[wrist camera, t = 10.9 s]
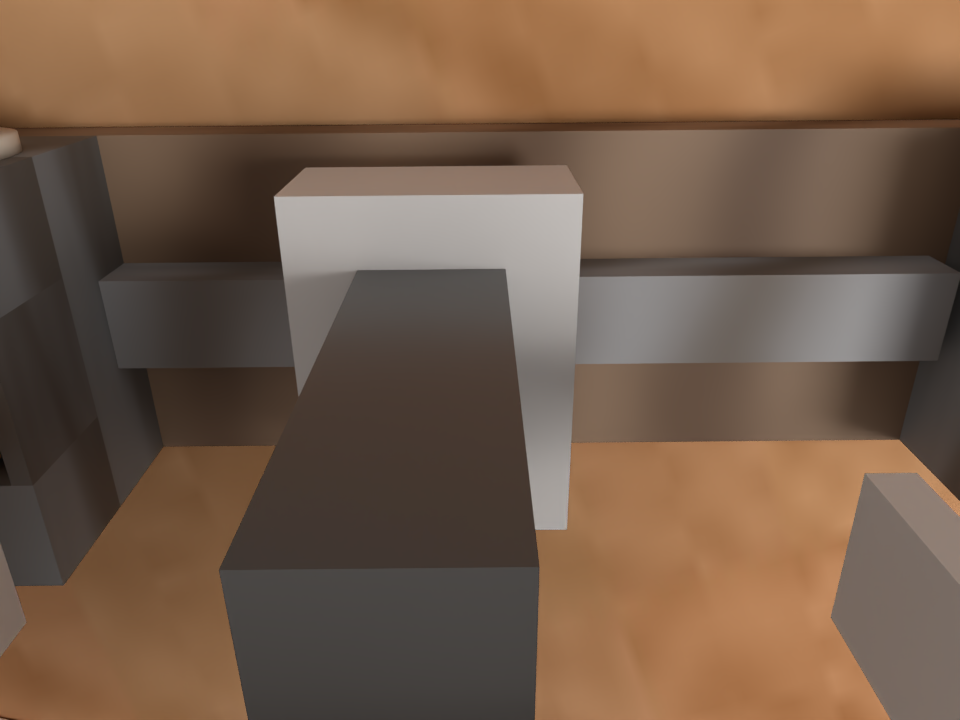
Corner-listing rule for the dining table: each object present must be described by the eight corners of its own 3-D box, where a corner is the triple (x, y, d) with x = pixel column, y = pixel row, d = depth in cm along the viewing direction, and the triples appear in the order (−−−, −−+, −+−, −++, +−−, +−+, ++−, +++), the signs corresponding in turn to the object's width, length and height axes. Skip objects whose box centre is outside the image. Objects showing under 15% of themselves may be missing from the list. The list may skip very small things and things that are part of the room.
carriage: (561, 155, 18) (720, 425, 6) (551, 438, 22) (642, 961, 10) (315, 158, 18) (16, 432, 6) (343, 440, 22) (180, 966, 10)
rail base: (1084, 96, 20) (1400, 141, 13) (985, 413, 24) (1188, 574, 17) (-53, 107, 20) (-329, 157, 13) (39, 423, 24) (-136, 587, 17)
